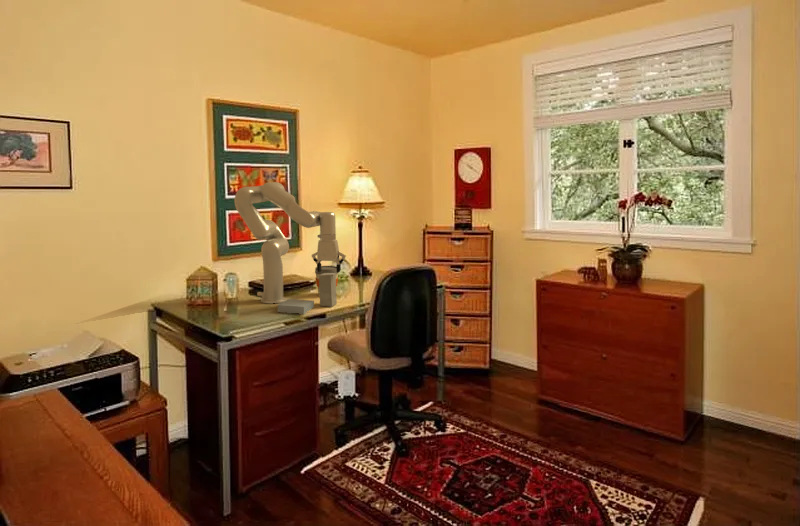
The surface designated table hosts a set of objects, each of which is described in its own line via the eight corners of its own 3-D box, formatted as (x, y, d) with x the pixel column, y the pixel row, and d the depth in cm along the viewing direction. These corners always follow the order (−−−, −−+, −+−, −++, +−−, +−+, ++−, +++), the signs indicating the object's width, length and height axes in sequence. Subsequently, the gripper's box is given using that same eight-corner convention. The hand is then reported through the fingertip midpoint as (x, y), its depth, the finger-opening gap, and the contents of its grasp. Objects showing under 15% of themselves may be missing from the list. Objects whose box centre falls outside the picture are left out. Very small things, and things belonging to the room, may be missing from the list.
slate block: (277, 313, 255) (277, 305, 254) (288, 306, 267) (288, 298, 267) (303, 315, 252) (303, 306, 252) (313, 308, 265) (313, 300, 264)
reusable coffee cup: (319, 291, 300) (319, 265, 298) (341, 293, 298) (341, 266, 295) (311, 296, 288) (311, 268, 286) (334, 298, 286) (334, 270, 283)
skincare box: (332, 307, 266) (332, 275, 264) (318, 306, 268) (318, 274, 265) (337, 303, 275) (337, 272, 272) (323, 302, 276) (323, 271, 273)
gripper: (308, 237, 264) (309, 272, 266) (342, 238, 260) (343, 273, 263) (314, 236, 271) (315, 270, 274) (347, 236, 267) (348, 271, 270)
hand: (328, 271), depth 268 cm, fingers open, 9 cm apart
